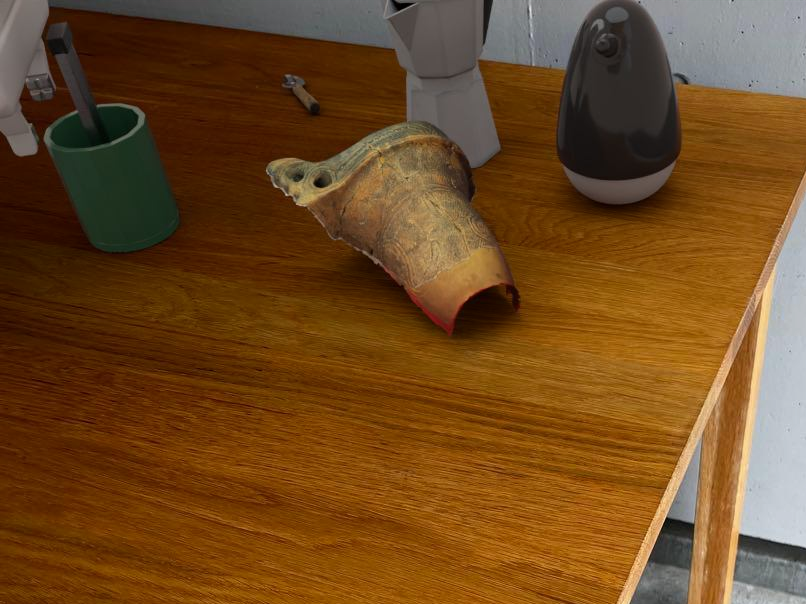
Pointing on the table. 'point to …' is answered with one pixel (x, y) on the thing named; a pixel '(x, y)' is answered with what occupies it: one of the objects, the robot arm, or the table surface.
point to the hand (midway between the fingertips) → (37, 123)
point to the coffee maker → (446, 69)
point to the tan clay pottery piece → (405, 214)
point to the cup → (115, 179)
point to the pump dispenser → (618, 106)
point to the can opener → (302, 93)
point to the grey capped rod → (77, 82)
